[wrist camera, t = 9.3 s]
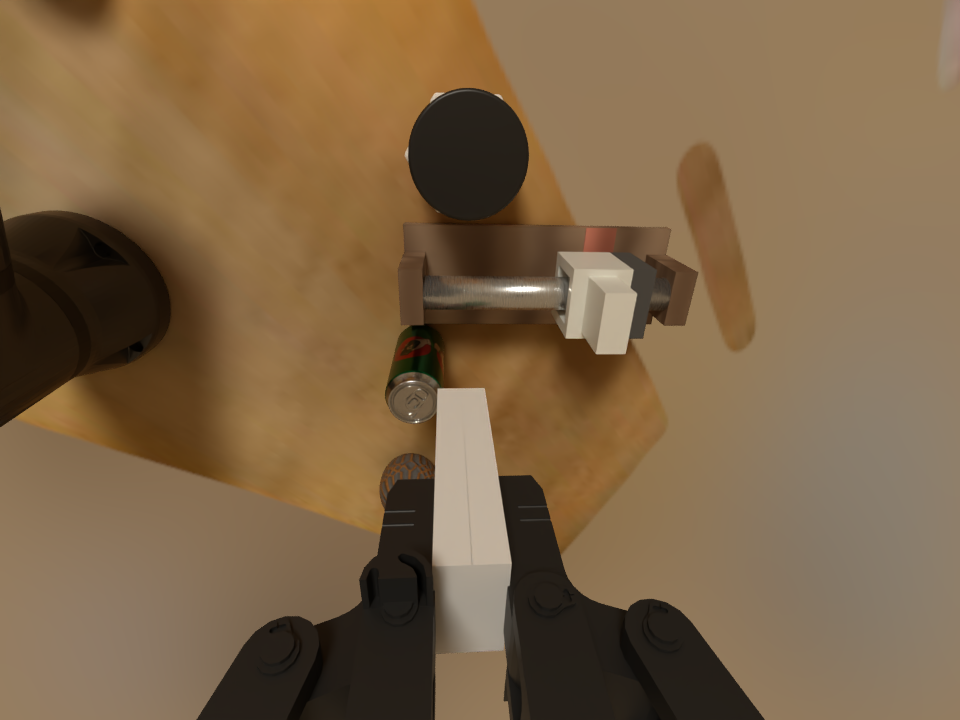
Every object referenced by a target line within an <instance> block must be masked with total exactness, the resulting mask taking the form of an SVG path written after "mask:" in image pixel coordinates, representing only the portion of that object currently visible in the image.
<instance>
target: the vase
mask: <svg viewBox="0 0 960 720" xmlns="http://www.w3.org/2000/svg"><path fill="white" fill-rule="evenodd" d="M398 479H435V467H434V466H433V464H432V463H431V462H430V461H429V460H428V459H427V458H425V457H423V456H421V455H419V454H414V453H408V454H403V455H400V456H398V457H396V458H395V459H393V460H392V461H391V462H390V463H389V464H388V466H387V467H386V468H385V470H384V472H383V474H382V477H381V481H380V498H381V502H382V505H383V507H384V509H385V505H386V499H387V494H388V492H389V491H390V490H391V488H392V487H393V485H394V484H395V483H396V481H397V480H398Z"/></svg>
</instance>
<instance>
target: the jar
mask: <svg viewBox="0 0 960 720" xmlns="http://www.w3.org/2000/svg"><path fill="white" fill-rule="evenodd" d="M405 158H406V160H407V161H408V163H409V168H410V172H411V176H412V179H413V181H414V184H415V186H416V188H417V189H418V191H419V193H420V194H421V196H422V197H423V198H424V199H425V200H426V202H427V203H428V204H429V205H431V206H432V207H433V208H434V209H435V210H436V212H438V213H442V214H444V215H446V216H448V217H451V218H454V219H458V220H467V221H471V220H480V219H484V218H487V217H490V216H492V215H494V214H496V213H498V212H499V211H501V210H502V209H504V208H505V207H506V206H507V205H508V204H509V203H510V202H511V201H512V200H513V199H514V197H515V196H516V195H517V193H518V192H519V190H520V188H521V186H522V184H523V182H524V179H525V176H526V173H527V168H528V161H529V149H528V142H527V137H526V134H525V130H524V128H523V126H522V123H521V121H520V120H519V118H518V116H517V115H516V113H515V112H514V111H513V109H512V108H511V107H510V106H509V105H508V104H507V103H506V102H504V100H503V98H502V96H501V95H498V94H492V93H490V92H487V91H484V90H481V89H475V88H460V89H455V90H451V91H448V92H446V93H435V94H434V95H433V97H432V99H431V101H430V103H429V104H428V105H427V106H426V107H425V108H424V110H423V111H422V112H421V114H420V115H419V117H418V118H417V120H416V122H415V124H414V126H413V129H412V132H411V135H410V139H409V146H408V148H407V150H406V152H405Z"/></svg>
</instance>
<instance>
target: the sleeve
mask: <svg viewBox="0 0 960 720" xmlns="http://www.w3.org/2000/svg"><path fill="white" fill-rule="evenodd" d="M633 271H634V270H633V269H632V268H630V267H629V266H628V265H626V264H625V263H624V262H622V261H621V260H619V259H618V258H617V257H615V256H614V255H613V254H611V253H610V252H558V253H557V263H556V272H555V277H570V281H569V289H568V298H567V306H566V310H551V314H552V316H553V318H554V319H555V321H556V323H557V324H558V326H559V328H560V330H561V331H562V333H563V335H564V337H565V338H566V339H586V340H587V342H588V343H589V345H590V346H591V348H592V349H593V351H594V352H595V354H626V349H627V344H628V339H629V334H630V329H631V323H632V318H633V313H634V308H635V303H636V298H637V293H636V292H635V291H634V290H632V289H631V288H630V287H631V282H632V277H633Z"/></svg>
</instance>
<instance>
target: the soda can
mask: <svg viewBox="0 0 960 720" xmlns="http://www.w3.org/2000/svg"><path fill="white" fill-rule="evenodd" d="M443 388H444V341H443V339H442V337H441V335H440V334H439V333H438V332H437V331H436V330H435V329H433V328H432V327H429V326H426V325H414V326H410V327H408V328H407V329H405V330H404V331H403V332H402V333H401V334H400V336H399V338H398V341H397V345H396V349H395V353H394V357H393V361H392V366H391V370H390V374H389V378H388V382H387V386H386V390H385V399H386V403H387V405H388V407H389V409H390V411H391V412H392V414H393V415H394V416H395V417H396V418H398V419H399V420H401V421H403V422H406V423H411V424H417V423H422V422H425V421H427V420H429V419H431V418H432V417H433V416H434V415H435V413H436V412H437V393H438V389H443Z"/></svg>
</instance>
